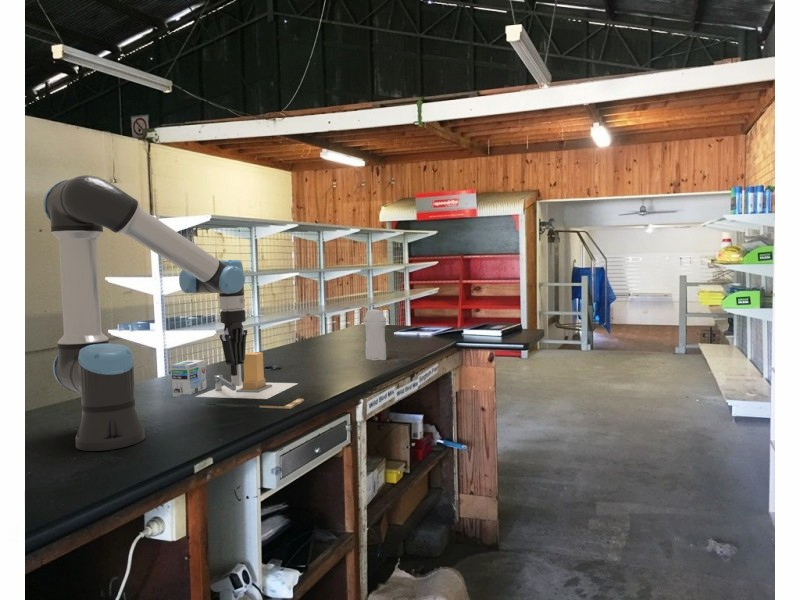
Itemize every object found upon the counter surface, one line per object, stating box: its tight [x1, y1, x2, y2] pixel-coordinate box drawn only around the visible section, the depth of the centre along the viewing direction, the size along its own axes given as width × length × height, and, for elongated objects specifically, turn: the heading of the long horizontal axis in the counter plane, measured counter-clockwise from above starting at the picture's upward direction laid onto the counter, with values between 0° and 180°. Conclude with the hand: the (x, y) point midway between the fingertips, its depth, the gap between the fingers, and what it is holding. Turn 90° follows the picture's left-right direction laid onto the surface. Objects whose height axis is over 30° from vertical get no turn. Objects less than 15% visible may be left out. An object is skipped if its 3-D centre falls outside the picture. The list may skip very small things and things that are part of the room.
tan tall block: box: [242, 351, 267, 390], centre depth 200 cm, size 7×5×12 cm
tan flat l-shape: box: [259, 398, 305, 409], centre depth 182 cm, size 10×10×1 cm
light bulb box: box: [170, 359, 207, 398], centre depth 200 cm, size 11×7×11 cm, turn 168°
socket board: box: [194, 381, 299, 400], centre depth 199 cm, size 24×25×4 cm
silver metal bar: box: [212, 374, 236, 391], centre depth 191 cm, size 3×22×2 cm, turn 30°
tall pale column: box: [363, 308, 387, 361], centre depth 261 cm, size 11×4×22 cm, turn 67°
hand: (236, 385), depth 187 cm, fingers closed
